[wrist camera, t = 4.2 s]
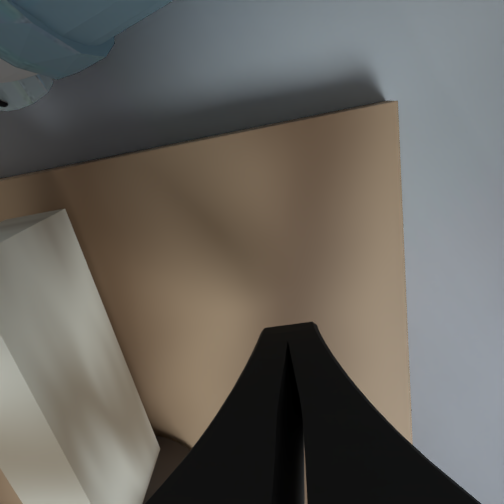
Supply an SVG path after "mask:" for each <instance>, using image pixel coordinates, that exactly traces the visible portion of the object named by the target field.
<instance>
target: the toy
mask: <svg viewBox="0 0 504 504" xmlns="http://www.w3.org/2000/svg"><path fill="white" fill-rule="evenodd" d="M171 1H173V0H0V111H11V110H18V109H21V108H23V107H26V106H29V105H31V104H34V103H35V102H37V101H38V100H39V99H40V98H42V97H43V96H44V95H46V94H47V93H48V92H49V90H50V88H51V86H52V84H53V78H54V79H57V80H58V79H61V78H64V77H67V76H70V75H72V74H75V73H78V72H80V71H82V70H84V69H85V68H87V67H89V66H91V65H92V64H94V63H96V62H98V61H100V60H101V59H103V58H105V57H106V56H107V54H108V53H109V51H110V50H111V48H112V46H113V45H114V36H116V35H117V34H119V33H121V32H122V31H124V30H126V29H127V28H129V27H130V26H132V25H134V24H135V23H137V22H139V21H140V20H142V19H144V18H145V17H147V16H148V15H150V14H152V13H153V12H155V11H157V10H158V9H160V8H162V7H163V6H165V5H167V4H168V3H170V2H171Z"/></svg>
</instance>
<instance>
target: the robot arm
mask: <svg viewBox="0 0 504 504" xmlns="http://www.w3.org/2000/svg"><path fill="white" fill-rule="evenodd" d="M304 448H305V466H306V484H307V504H481V503H480V502H478V501H477V500H476V499H475V498H474V497H472V496H471V495H470V494H469V493H468V492H466V491H465V490H464V489H463V488H462V487H460V486H459V485H458V484H457V483H456V482H455V481H453V480H452V479H451V478H450V477H449V476H447V475H446V474H445V473H444V472H443V471H441V470H440V469H439V468H438V467H437V466H435V465H434V464H433V463H432V462H431V461H429V460H428V459H427V458H426V457H425V456H424V455H423V454H422V453H421V452H420V451H419V450H417V449H416V448H415V447H414V446H413V445H412V444H411V443H410V442H409V441H408V440H407V439H406V438H405V437H403V436H402V435H401V434H400V433H399V432H398V431H397V430H396V429H395V428H394V427H393V426H392V425H391V424H390V423H389V422H388V421H387V420H386V418H385V417H384V416H383V415H382V414H381V413H380V412H379V411H378V410H377V409H376V408H375V407H374V406H373V404H372V403H371V402H370V401H369V400H368V399H367V398H366V396H365V395H364V394H363V393H362V392H361V391H360V389H359V388H358V387H357V386H356V385H355V383H354V382H353V381H352V380H351V378H350V377H349V376H348V374H347V373H346V372H345V370H344V369H343V368H342V366H341V365H340V364H339V362H338V361H337V360H336V358H335V357H334V355H333V354H332V352H331V351H330V349H329V348H328V346H327V344H326V343H325V341H324V339H323V337H322V335H321V333H320V331H319V329H318V326H317V325H316V324H315V323H314V322H305V323H298V324H290V325H282V326H275V327H267V328H264V329H263V330H262V332H261V334H260V336H259V338H258V341H257V343H256V345H255V347H254V350H253V352H252V354H251V356H250V358H249V360H248V362H247V364H246V366H245V367H244V369H243V371H242V373H241V375H240V377H239V378H238V380H237V382H236V384H235V386H234V387H233V389H232V391H231V392H230V394H229V395H228V397H227V399H226V400H225V402H224V403H223V405H222V406H221V408H220V410H219V411H218V413H217V414H216V416H215V417H214V419H213V420H212V422H211V423H210V425H209V426H208V427H207V429H206V430H205V432H204V433H203V434H202V436H201V437H200V438H199V440H198V441H197V442H196V444H195V445H194V446H193V448H192V449H191V450H190V452H189V453H188V454H187V455H186V457H185V458H184V459H183V460H182V461H181V463H180V464H179V465H178V466H177V467H176V468H175V470H174V471H173V472H172V473H171V474H170V476H169V477H168V478H167V479H166V480H165V482H164V483H163V484H162V485H161V486H160V487H159V488H158V490H157V491H156V492H155V493H154V494H153V495H152V496H151V497H150V498H149V499H148V501H147V502H146V503H145V504H305V490H304Z"/></svg>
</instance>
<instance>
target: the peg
mask: <svg viewBox="0 0 504 504" xmlns="http://www.w3.org/2000/svg"><path fill="white" fill-rule="evenodd" d="M189 452H190V450H189V449H188V448H187V447H185V446H184V445H182V444H180V443H178V442H176V441H174V440H171V439H168V438H164V437H160V436H155V434H154V432H153V429H152V427H151V424H150V422H149V419H148V417H147V414H146V412H145V409H144V407H143V404H142V402H141V399H140V397H139V394H138V391H137V389H136V386H135V384H134V381H133V379H132V376H131V374H130V371H129V369H128V366H127V364H126V361H125V359H124V356H123V354H122V351H121V349H120V346H119V343H118V341H117V338H116V336H115V333H114V331H113V328H112V326H111V323H110V321H109V318H108V316H107V313H106V311H105V308H104V306H103V303H102V301H101V298H100V296H99V293H98V290H97V288H96V285H95V283H94V280H93V278H92V275H91V273H90V270H89V268H88V265H87V263H86V260H85V258H84V255H83V253H82V250H81V248H80V245H79V242H78V240H77V237H76V235H75V232H74V230H73V227H72V225H71V222H70V220H69V217H68V215H67V212H66V210H65V209H60V210H55V211H49V212H44V213H39V214H33V215H28V216H22V217H17V218H12V219H6V220H4V221H2V222H0V469H1V470H2V472H3V473H4V475H5V477H6V478H7V480H8V481H9V483H10V484H11V486H12V488H13V489H14V491H15V492H16V494H17V495H18V497H19V499H20V500H21V502H22V503H23V504H145V503H146V502H147V501H148V499H149V498H150V497H151V496H152V495H153V494H154V493H155V492H156V491H157V490H158V488H159V487H160V486H161V485H162V484H163V483H164V482H165V480H166V479H167V478H168V477H169V476H170V474H171V473H172V472H173V471H174V470H175V468H176V467H177V466H178V465H179V464H180V463H181V461H182V460H183V459H184V458H185V457H186V455H187V454H188V453H189Z"/></svg>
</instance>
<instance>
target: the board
mask: <svg viewBox="0 0 504 504" xmlns="http://www.w3.org/2000/svg"><path fill="white" fill-rule="evenodd" d="M60 209H65V210H66V212H67V215H68V217H69V220H70V222H71V225H72V227H73V230H74V232H75V235H76V237H77V240H78V242H79V245H80V248H81V250H82V253H83V255H84V258H85V260H86V263H87V265H88V268H89V270H90V273H91V275H92V278H93V280H94V283H95V285H96V288H97V290H98V293H99V296H100V298H101V301H102V303H103V306H104V308H105V311H106V313H107V316H108V318H109V321H110V323H111V326H112V328H113V331H114V333H115V336H116V338H117V341H118V343H119V346H120V349H121V351H122V354H123V356H124V359H125V361H126V364H127V366H128V369H129V371H130V374H131V376H132V379H133V381H134V384H135V386H136V389H137V391H138V394H139V397H140V399H141V402H142V404H143V407H144V409H145V412H146V414H147V417H148V419H149V422H150V424H151V427H152V429H153V432H154V434H155V436H160V437H164V438H168V439H171V440H174V441H176V442H178V443H180V444H182V445H184V446H185V447H187V448H188V449H189V450H191V449H192V448H193V446H194V445H195V444H196V442H197V441H198V440H199V438H200V437H201V436H202V434H203V433H204V432H205V430H206V429H207V427H208V426H209V425H210V423H211V422H212V420H213V419H214V417H215V416H216V414H217V413H218V411H219V410H220V408H221V406H222V405H223V403H224V402H225V400H226V399H227V397H228V395H229V394H230V392H231V391H232V389H233V387H234V386H235V384H236V382H237V380H238V378H239V377H240V375H241V373H242V371H243V369H244V367H245V366H246V364H247V362H248V360H249V358H250V356H251V354H252V352H253V350H254V347H255V345H256V343H257V341H258V338H259V336H260V334H261V332H262V330H263V329H264V328H267V327H275V326H282V325H290V324H298V323H305V322H314V323H315V324H316V325H317V326H318V329H319V331H320V333H321V335H322V337H323V339H324V341H325V343H326V344H327V346H328V348H329V349H330V351H331V352H332V354H333V355H334V357H335V358H336V360H337V361H338V362H339V364H340V365H341V366H342V368H343V369H344V370H345V372H346V373H347V374H348V376H349V377H350V378H351V380H352V381H353V382H354V383H355V385H356V386H357V387H358V388H359V389H360V391H361V392H362V393H363V394H364V395H365V396H366V398H367V399H368V400H369V401H370V402H371V403H372V404H373V406H374V407H375V408H376V409H377V410H378V411H379V412H380V413H381V414H382V415H383V416H384V417H385V418H386V420H387V421H388V422H389V423H390V424H391V425H392V426H393V427H394V428H395V429H396V430H397V431H398V432H399V433H400V434H401V435H402V436H403V437H405V438H406V439H407V440H408V441H409V442H410V443H411V444H412V445H413V443H412V420H411V397H410V374H409V351H408V327H407V304H406V281H405V258H404V235H403V211H402V188H401V165H400V142H399V119H398V101H383V102H378V103H373V104H368V105H363V106H358V107H353V108H348V109H343V110H338V111H333V112H328V113H323V114H318V115H314V116H309V117H304V118H299V119H294V120H289V121H284V122H279V123H274V124H269V125H264V126H259V127H254V128H249V129H244V130H239V131H234V132H229V133H224V134H219V135H214V136H209V137H204V138H199V139H194V140H190V141H185V142H180V143H175V144H170V145H165V146H160V147H155V148H150V149H145V150H140V151H135V152H130V153H125V154H120V155H115V156H110V157H105V158H100V159H95V160H90V161H85V162H80V163H75V164H71V165H66V166H61V167H56V168H51V169H46V170H41V171H36V172H31V173H26V174H21V175H16V176H11V177H6V178H1V179H0V222H2V221H4V220H6V219H12V218H17V217H22V216H28V215H33V214H39V213H44V212H49V211H55V210H60ZM304 490H305V504H307V484H306V466H305V448H304ZM0 504H23V503H22V502H21V500H20V499H19V497H18V495H17V494H16V492H15V491H14V489H13V488H12V486H11V484H10V483H9V481H8V480H7V478H6V477H5V475H4V473H3V472H2V470H1V469H0Z"/></svg>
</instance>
